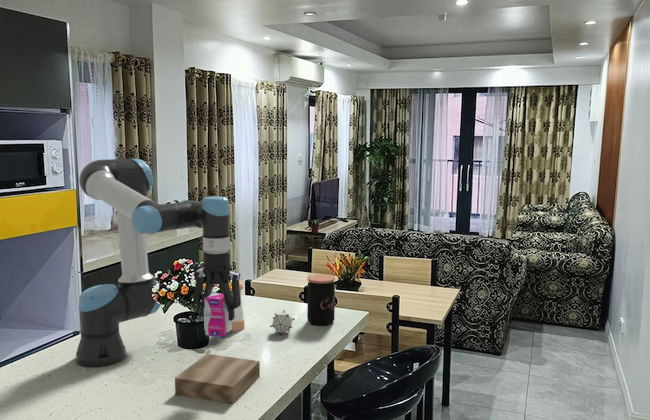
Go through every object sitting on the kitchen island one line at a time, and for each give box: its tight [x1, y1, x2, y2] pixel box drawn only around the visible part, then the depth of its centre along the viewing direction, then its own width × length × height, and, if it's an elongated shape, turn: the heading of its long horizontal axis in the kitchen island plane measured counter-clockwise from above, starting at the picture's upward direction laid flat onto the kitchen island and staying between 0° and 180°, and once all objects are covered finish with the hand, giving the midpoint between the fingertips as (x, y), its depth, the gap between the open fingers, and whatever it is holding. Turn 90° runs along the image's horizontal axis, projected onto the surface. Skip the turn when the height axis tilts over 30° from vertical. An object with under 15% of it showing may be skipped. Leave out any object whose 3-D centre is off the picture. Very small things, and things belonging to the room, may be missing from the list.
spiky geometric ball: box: [269, 309, 295, 336], centre depth 204 cm, size 9×8×10 cm
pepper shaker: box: [230, 280, 245, 332], centre depth 208 cm, size 7×7×19 cm
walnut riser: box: [174, 353, 261, 405], centre depth 161 cm, size 18×18×5 cm
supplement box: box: [204, 292, 232, 339], centre depth 159 cm, size 6×6×12 cm
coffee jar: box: [306, 273, 336, 327], centre depth 216 cm, size 11×11×18 cm
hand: (218, 329), depth 159 cm, fingers closed on supplement box, 6 cm apart
